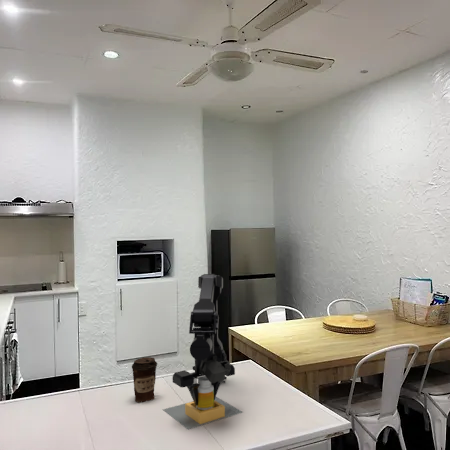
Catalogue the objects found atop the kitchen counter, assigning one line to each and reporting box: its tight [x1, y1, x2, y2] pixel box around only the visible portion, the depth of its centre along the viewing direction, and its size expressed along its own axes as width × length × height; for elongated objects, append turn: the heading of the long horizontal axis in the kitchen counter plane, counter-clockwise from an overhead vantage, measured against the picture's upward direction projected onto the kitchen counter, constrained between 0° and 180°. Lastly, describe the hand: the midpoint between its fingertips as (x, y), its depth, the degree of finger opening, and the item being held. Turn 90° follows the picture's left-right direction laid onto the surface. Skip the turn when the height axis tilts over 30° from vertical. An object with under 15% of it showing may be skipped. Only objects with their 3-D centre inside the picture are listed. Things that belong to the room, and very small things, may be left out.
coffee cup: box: [131, 356, 158, 403], centre depth 137 cm, size 9×8×13 cm
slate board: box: [162, 396, 243, 430], centre depth 126 cm, size 16×19×1 cm
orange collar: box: [184, 400, 225, 424], centre depth 123 cm, size 8×8×3 cm
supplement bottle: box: [196, 377, 214, 411], centre depth 123 cm, size 5×5×10 cm
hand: (204, 402), depth 123 cm, fingers closed on supplement bottle, 5 cm apart
